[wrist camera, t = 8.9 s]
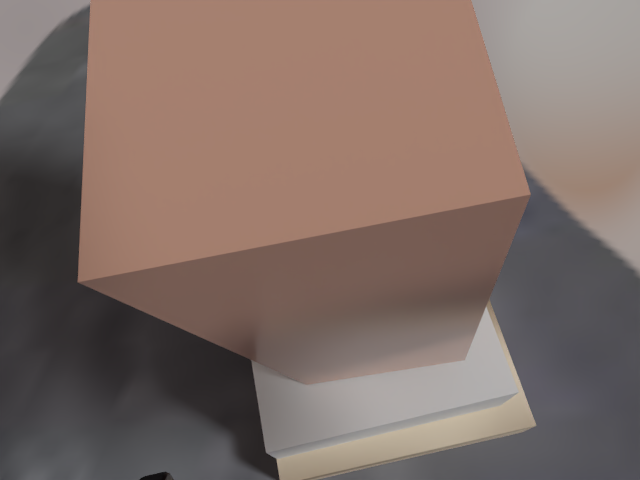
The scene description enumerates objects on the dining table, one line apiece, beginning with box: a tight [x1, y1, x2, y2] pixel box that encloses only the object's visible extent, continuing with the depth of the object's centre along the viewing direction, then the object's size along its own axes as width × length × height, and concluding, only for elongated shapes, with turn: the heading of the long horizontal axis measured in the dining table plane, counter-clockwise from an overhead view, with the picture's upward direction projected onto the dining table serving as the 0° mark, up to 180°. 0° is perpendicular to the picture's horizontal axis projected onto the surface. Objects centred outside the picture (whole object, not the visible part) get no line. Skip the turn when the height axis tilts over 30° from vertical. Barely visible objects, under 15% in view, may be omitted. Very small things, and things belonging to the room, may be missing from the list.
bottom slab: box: [277, 300, 536, 480], centre depth 21 cm, size 9×9×2 cm
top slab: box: [251, 307, 519, 459], centre depth 19 cm, size 8×8×2 cm
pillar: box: [78, 0, 531, 385], centre depth 12 cm, size 5×5×12 cm
